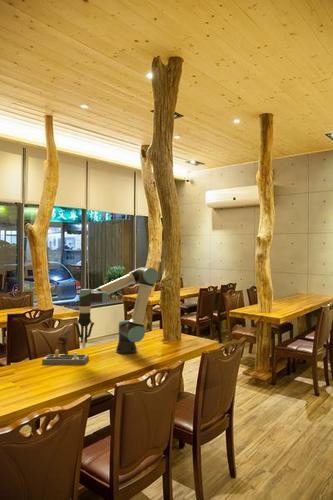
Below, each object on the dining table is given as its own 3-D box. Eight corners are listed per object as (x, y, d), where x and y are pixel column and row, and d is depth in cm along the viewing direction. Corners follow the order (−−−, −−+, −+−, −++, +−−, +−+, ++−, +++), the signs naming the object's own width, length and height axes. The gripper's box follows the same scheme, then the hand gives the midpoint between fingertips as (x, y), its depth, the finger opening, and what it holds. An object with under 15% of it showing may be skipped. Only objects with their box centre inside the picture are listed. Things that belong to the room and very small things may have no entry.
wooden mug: (63, 357, 250) (63, 331, 251) (52, 353, 259) (52, 328, 259) (73, 354, 257) (74, 329, 257) (63, 351, 266) (63, 327, 266)
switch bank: (88, 359, 246) (88, 354, 246) (84, 364, 234) (84, 359, 234) (48, 358, 246) (48, 354, 246) (42, 364, 234) (42, 359, 234)
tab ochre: (60, 357, 244) (60, 349, 245) (59, 358, 241) (59, 350, 241) (54, 357, 244) (54, 349, 245) (53, 358, 241) (53, 350, 241)
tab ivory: (78, 359, 239) (79, 351, 239) (77, 361, 236) (77, 353, 236) (73, 359, 239) (73, 351, 239) (71, 361, 236) (71, 353, 236)
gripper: (95, 311, 242) (94, 346, 241) (76, 311, 242) (75, 346, 241) (93, 313, 234) (92, 349, 234) (73, 312, 234) (72, 348, 234)
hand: (83, 347), depth 237 cm, fingers closed
